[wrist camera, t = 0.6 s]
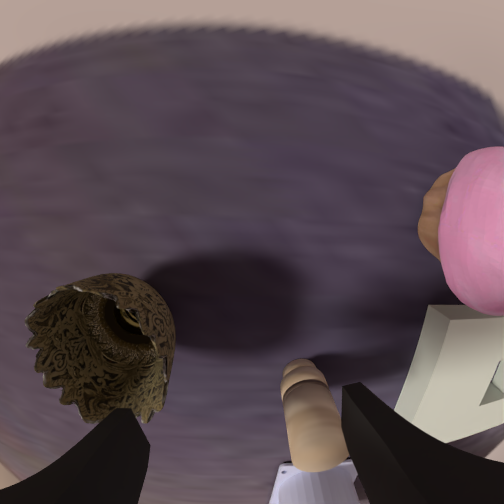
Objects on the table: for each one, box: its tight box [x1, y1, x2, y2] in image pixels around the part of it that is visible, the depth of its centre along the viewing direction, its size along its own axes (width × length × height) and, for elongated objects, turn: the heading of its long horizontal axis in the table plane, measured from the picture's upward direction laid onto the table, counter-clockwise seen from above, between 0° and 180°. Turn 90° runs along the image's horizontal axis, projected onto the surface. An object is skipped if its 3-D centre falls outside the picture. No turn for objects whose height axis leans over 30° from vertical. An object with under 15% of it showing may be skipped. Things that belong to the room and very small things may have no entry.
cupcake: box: [418, 147, 504, 316], centre depth 13 cm, size 9×9×10 cm
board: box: [394, 305, 504, 443], centre depth 19 cm, size 12×16×3 cm
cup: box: [25, 273, 176, 424], centre depth 15 cm, size 8×7×8 cm
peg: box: [280, 359, 349, 472], centre depth 16 cm, size 3×3×8 cm
